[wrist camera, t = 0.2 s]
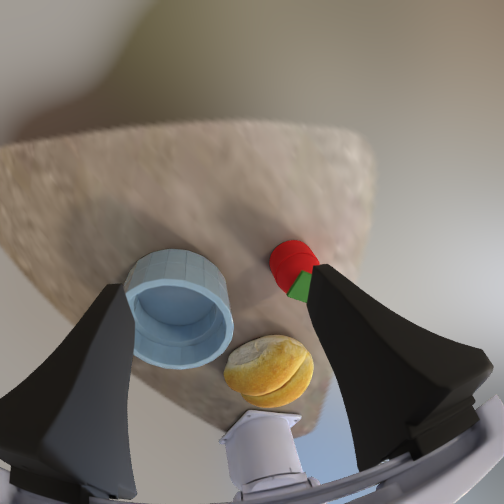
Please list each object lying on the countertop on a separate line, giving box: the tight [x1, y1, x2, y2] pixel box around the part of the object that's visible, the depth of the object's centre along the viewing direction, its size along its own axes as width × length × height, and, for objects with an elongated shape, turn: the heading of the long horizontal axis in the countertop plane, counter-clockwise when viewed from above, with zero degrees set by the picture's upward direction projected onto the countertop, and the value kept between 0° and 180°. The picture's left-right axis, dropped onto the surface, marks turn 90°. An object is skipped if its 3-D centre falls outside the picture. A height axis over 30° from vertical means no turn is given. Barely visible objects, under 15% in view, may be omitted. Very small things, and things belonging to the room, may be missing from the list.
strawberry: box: [269, 240, 320, 303], centre depth 21 cm, size 3×3×4 cm
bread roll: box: [224, 335, 314, 408], centre depth 26 cm, size 8×9×4 cm
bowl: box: [123, 249, 234, 369], centre depth 20 cm, size 8×8×4 cm
